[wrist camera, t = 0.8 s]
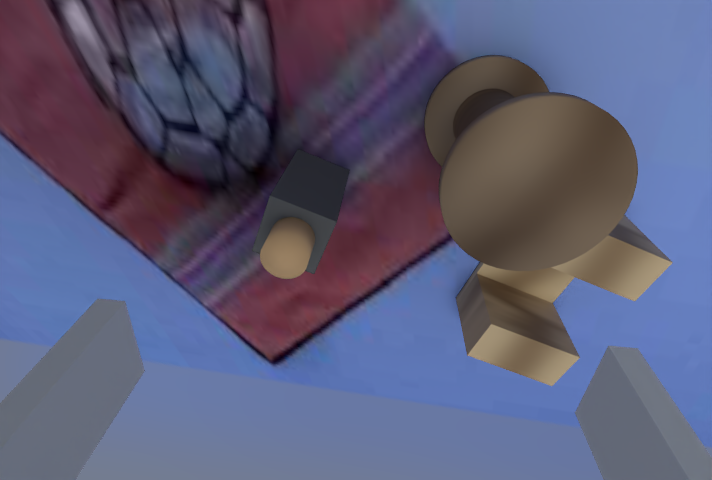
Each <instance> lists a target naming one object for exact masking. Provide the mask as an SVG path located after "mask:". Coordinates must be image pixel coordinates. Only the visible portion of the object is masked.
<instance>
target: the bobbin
mask: <svg viewBox="0 0 712 480" xmlns="http://www.w3.org/2000/svg"><path fill="white" fill-rule="evenodd" d="M424 128H425V135H426V139H427V143H428V146H429V149H430V151H431V153H432V155H433V156H434V158H435V160H436V161H437V162H438V163H439V164H440V165H441V166H442V170H441V174H440V180H439V200H440V206H441V211H442V215H443V219H444V222H445V225H446V227H447V229H448V231H449V233H450V235H451V236H452V238H453V239H454V241H455V242H456V243H457V244H458V245H459V247H460V248H461V249H462V250H464V251H465V252H466V253H467V254H468V255H470V256H471V257H473V258H475V259H476V260H478V261H480V262H482V263H484V264H486V265H489V266H492V267H495V268H499V269H504V270H512V271H533V270H541V269H546V268H550V267H554V266H557V265H560V264H564V263H566V262H568V261H571V260H573V259H575V258H577V257H579V256H581V255H582V254H584V253H586V252H588V251H589V250H590V249H592V248H593V247H595V246H596V245H597V244H599V243H600V242H601V241H602V240H603V239H604V238H606V237H607V236H608V235H609V233H610V232H611V231H612V230H613V229H614V228H615V227H616V226H617V224H618V223H619V222H620V220H621V219H622V217H623V216H624V214H625V212H626V211H627V209H628V207H629V205H630V202H631V200H632V198H633V195H634V191H635V188H636V183H637V175H638V164H637V157H636V152H635V148H634V146H633V143H632V140H631V138H630V137H629V135H628V133H627V132H626V130H625V129H624V127H623V126H622V125H621V124H620V123H619V122H618V121H617V120H616V119H615V118H614V117H613V116H611V115H610V114H609V113H608V112H606V111H604V110H603V109H601V108H599V107H598V106H596V105H594V104H592V103H591V102H589V101H587V100H585V99H582V98H579V97H577V96H573V95H569V94H564V93H555V92H549V90H548V88H547V86H546V84H545V83H544V81H543V80H542V78H541V77H540V76H539V75H538V74H537V72H535V71H534V70H533V69H532V68H530V67H529V66H527V65H526V64H524V63H522V62H520V61H519V60H516V59H513V58H511V57H506V56H500V55H487V56H481V57H476V58H474V59H471V60H468V61H466V62H464V63H462V64H460V65H458V66H457V67H455V68H454V69H452V70H451V71H450V72H449V73H448V74H446V75H445V77H444V78H443V79H442V80H441V81H440V82H439V83H438V85H437V86H436V87H435V89H434V91H433V93H432V94H431V96H430V99H429V101H428V104H427V108H426V111H425V119H424Z"/></svg>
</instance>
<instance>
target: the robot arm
mask: <svg viewBox="0 0 712 480" xmlns="http://www.w3.org/2000/svg"><path fill="white" fill-rule="evenodd" d="M144 371H145V370H144V367H143V363H142V360H141V356H140V353H139V349H138V346H137V342H136V338H135V335H134V331H133V328H132V324H131V321H130V317H129V314H128V310H127V307H126V303H125V301H117V300H106V299H97V300H96V301H95V302H94V303H93V304H92V305H91V306H90V308H89V309H88V310H87V311H86V312H85V313H84V314H83V315H82V316H81V317H80V318H79V319H78V320H77V321H76V323H75V324H74V325H73V326H72V327H71V328H70V329H69V330H68V331H67V332H66V333H65V334H64V335H63V336H62V338H61V339H60V340H59V341H58V342H57V343H56V344H55V345H54V346H53V347H52V348H51V349H50V350H49V352H48V353H47V354H46V355H45V356H44V357H43V358H42V359H41V360H40V361H39V362H38V363H37V364H36V366H35V367H34V368H33V369H32V370H31V371H30V372H29V373H28V374H27V375H26V376H25V377H24V378H23V379H22V380H21V382H20V383H19V384H18V385H17V386H16V387H15V388H14V389H13V390H12V391H11V392H10V393H9V394H8V395H7V397H6V398H5V399H4V400H3V401H2V402H1V403H0V480H76V478H77V476H78V475H79V473H80V472H81V470H82V469H83V467H84V465H85V464H86V462H87V461H88V459H89V458H90V456H91V455H92V453H93V451H94V450H95V448H96V447H97V445H98V443H99V442H100V440H101V439H102V437H103V436H104V434H105V433H106V431H107V429H108V428H109V426H110V425H111V423H112V421H113V420H114V418H115V417H116V415H117V414H118V412H119V410H120V409H121V407H122V406H123V404H124V403H125V401H126V399H127V398H128V396H129V395H130V393H131V392H132V390H133V389H134V387H135V385H136V384H137V382H138V381H139V379H140V377H141V376H142V374H143V373H144ZM575 414H576V416H577V419H578V421H579V423H580V426H581V428H582V430H583V433H584V435H585V437H586V439H587V442H588V444H589V447H590V449H591V451H592V453H593V456H594V458H595V460H596V463H597V465H598V467H599V470H600V472H601V474H602V476H603V479H604V480H712V458H711V456H710V454H709V453H708V452H707V450H706V448H705V447H704V445H703V444H702V443H701V441H700V440H699V438H698V437H697V435H696V434H695V432H694V431H693V429H692V428H691V426H690V425H689V423H688V422H687V420H686V419H685V417H684V416H683V415H682V413H681V412H680V410H679V409H678V407H677V406H676V404H675V403H674V401H673V400H672V398H671V397H670V395H669V394H668V392H667V391H666V389H665V388H664V387H663V385H662V384H661V382H660V381H659V379H658V378H657V376H656V375H655V373H654V372H653V370H652V369H651V367H650V366H649V364H648V363H647V361H646V360H645V359H644V357H643V356H642V354H641V353H640V351H639V350H638V348H627V347H616V346H608V348H607V350H606V352H605V354H604V356H603V358H602V360H601V362H600V364H599V366H598V368H597V370H596V372H595V374H594V376H593V378H592V380H591V382H590V384H589V386H588V388H587V390H586V392H585V394H584V396H583V398H582V400H581V402H580V404H579V406H578V408H577V410H576V412H575Z"/></svg>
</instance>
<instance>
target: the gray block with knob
mask: <svg viewBox="0 0 712 480" xmlns="http://www.w3.org/2000/svg"><path fill="white" fill-rule="evenodd" d="M349 171H350V170H348V169H345V168H343V167H340V166H338V165H335V164H333V163H331V162H328V161H326V160H323V159H321V158H318V157H316V156H314V155H311V154H309V153H306V152H304V151H301V150H299V149H298V150H297V152H296V153H295V155H294V157H293V158H292V160H291V161H290V163H289V165H288V166H287V168H286V170H285V171H284V173H283V175H282V176H281V178H280V180H279V181H278V183H277V185H276V186H275V188H274V190H273V191H272V193H271V195H270V197H269V200H268V203H267V206H266V209H265V212H264V215H263V219H262V222H261V225H260V228H259V231H258V234H257V237H256V240H255V243H254V246H253V249H252V251H253V252H256V253H259V254H260V259H261V263H262V265H263V266H264V268H265V269H266V270H267V271H268V272H269V273H271V274H272V275H274V276H276V277H279V278H283V279H291V278H295V277H298V276H300V275H301V274H302V273H303V272H304V271H307V272H310V273H312V274H314V273H315V271H316V268H317V266H318V264H319V261H320V259H321V257H322V255H323V252H324V250H325V248H326V245H327V243H328V241H329V238H330V236H331V234H332V232H333V229H334V227H335V225H336V222H337V219H338V215H339V211H340V207H341V203H342V199H343V195H344V191H345V187H346V183H347V179H348V175H349Z"/></svg>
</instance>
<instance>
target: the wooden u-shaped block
mask: <svg viewBox="0 0 712 480" xmlns="http://www.w3.org/2000/svg"><path fill="white" fill-rule="evenodd" d="M672 263H673V262H672V261H671V260H670V259H669V258H668V257H667V256H666V255H664V254H663V253H662V252H661V251H660V250H659V249H658V248H657V247H656V246H655V245H654V244H653V243H652V242H651V241H650V240H649V239H648V238H647V237H646V236H645V235H644V234H643V233H642V232H641V231H640V230H639V229H638V228H637V227H636V226H635V225H634V224H633V223H632V222H631V221H630V220H629V219H628V218H627V217H626V216H625V215H624V216H623V217H622V219H621V220H620V222H619V223H618V224H617V226H616V227H615V228H614V229H613V230H612V231H611V232H610V233H609V235H608V236H607V237H606V238H604V239H603V240H602V241H601V242H600V243H599V244H597V245H596V246H595V247H593V248H592V249H590V250H589V251H588V252H586V253H584V254H582V255H581V256H579V257H577V258H575V259H573V260H571V261H568V262H566V263H564V264H560V265H557V266H554V267H550V268H546V269H541V270H533V271H512V270H504V269H499V268H495V267H492V266H489V265H486V264H484V263H482V262H480V263H479V265H478V266H477V268H476V269H475V271H474V272H473V273H472V275H471V276H470V278H469V279H468V281H467V282H466V284H465V285H464V287H463V288H462V290H461V291H460V293H459V294H458V295H457V297H456V301H457V306H458V311H459V316H460V321H461V326H462V331H463V336H464V341H465V346H466V351H467V355H468V356H471V357H473V358H476V359H479V360H482V361H484V362H487V363H490V364H493V365H495V366H498V367H501V368H504V369H506V370H509V371H512V372H515V373H517V374H520V375H523V376H526V377H528V378H531V379H534V380H537V381H539V382H542V383H545V384H548V385H550V386H553V385H554V383H555V382H556V381H557V380H558V379H559V378H560V377H561V376H562V375H563V374H564V373H565V372H566V371H567V370H568V369H569V368H570V367H571V366H572V365H573V364H574V363H575V362H576V361H577V360H578V359H579V358H580V357H579V355H578V353H577V351H576V349H575V347H574V345H573V343H572V341H571V339H570V337H569V335H568V333H567V331H566V329H565V327H564V325H563V323H562V321H561V319H560V317H559V315H558V313H557V311H556V309H555V307H554V305H553V302H554V301H555V300H556V299H557V297H558V296H559V295H560V294H561V293H562V291H563V290H564V289H565V288H566V287H567V286H568V284H569V283H570V282H571V281H572V280H573V278H574V277H576V278H578V279H581V280H583V281H586V282H588V283H591V284H593V285H596V286H598V287H600V288H603V289H605V290H608V291H610V292H613V293H615V294H618V295H620V296H623V297H625V298H628V299H630V300H633V301H636V300H637V299H638V298H639V297H640V296H641V295H642V294H643V292H644V291H645V290H646V289H647V288H648V287H649V286H650V285H651V284H652V283H653V282H654V281H655V280H656V279H657V278H658V277H659V276H660V275H661V274H662V273H663V272H664V271H665V270H666V269H667V268H668V267H669V266H670V265H671V264H672Z"/></svg>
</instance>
